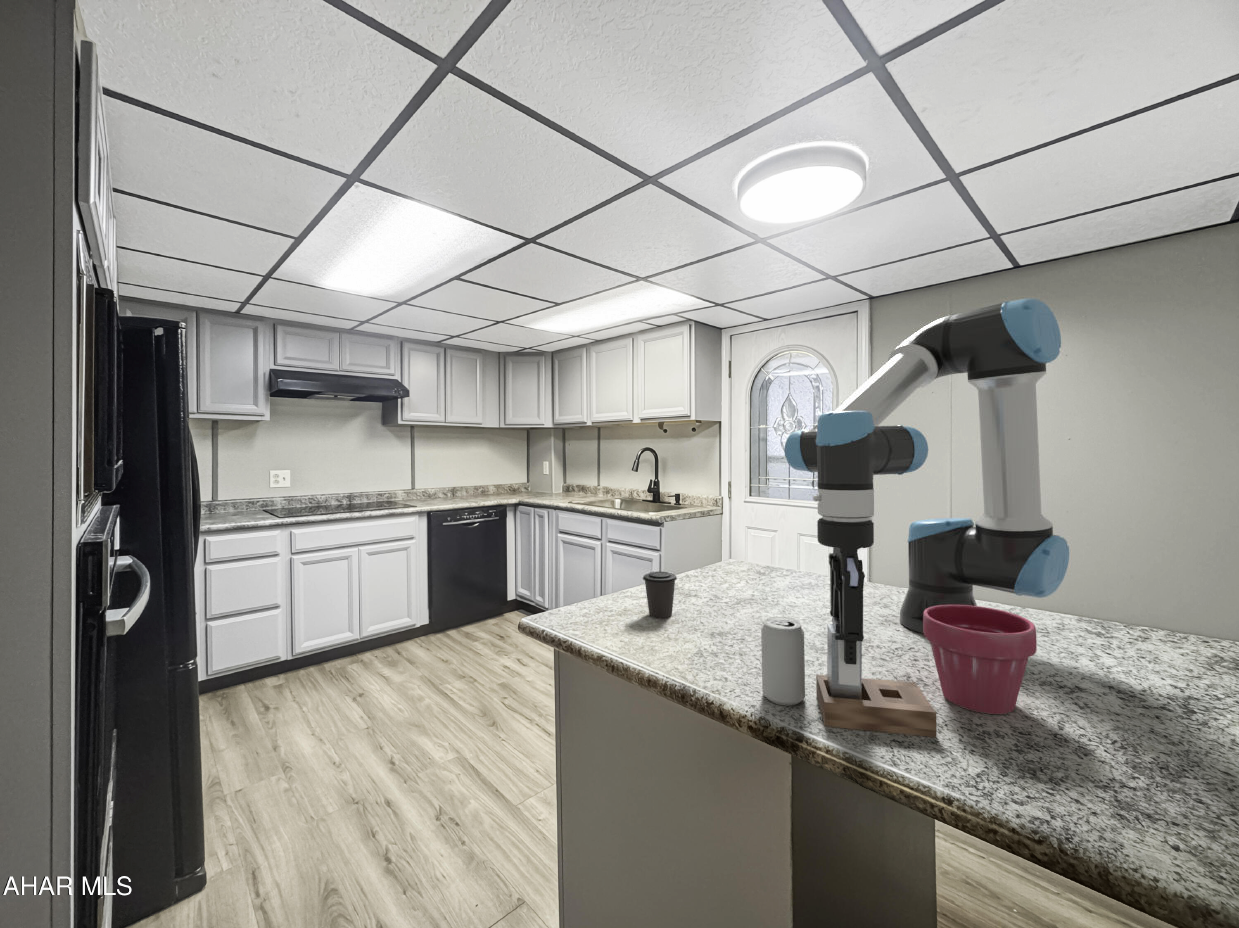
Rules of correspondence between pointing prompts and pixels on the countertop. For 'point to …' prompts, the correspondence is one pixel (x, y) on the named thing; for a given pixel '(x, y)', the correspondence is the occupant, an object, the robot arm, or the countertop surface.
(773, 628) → the beverage can
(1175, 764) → the countertop surface
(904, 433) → the robot arm
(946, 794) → the countertop surface
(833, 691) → the grey square peg
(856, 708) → the socket block
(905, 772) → the countertop surface
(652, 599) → the coffee cup
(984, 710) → the plant pot
